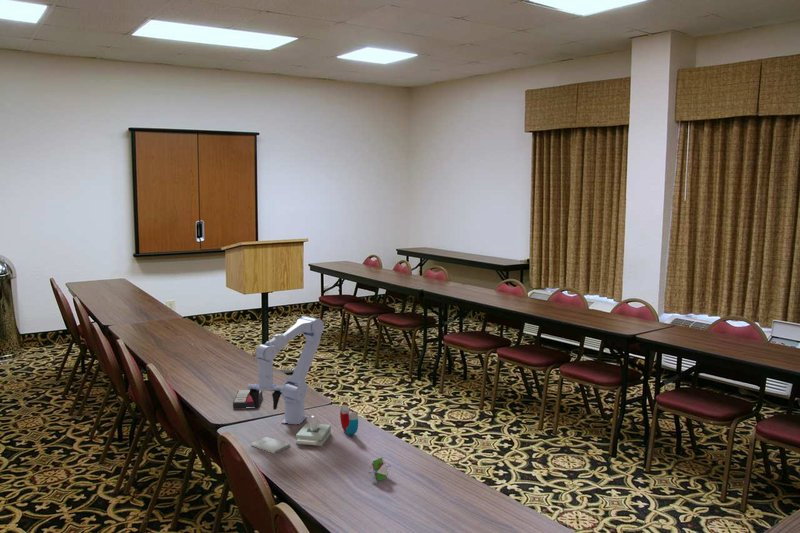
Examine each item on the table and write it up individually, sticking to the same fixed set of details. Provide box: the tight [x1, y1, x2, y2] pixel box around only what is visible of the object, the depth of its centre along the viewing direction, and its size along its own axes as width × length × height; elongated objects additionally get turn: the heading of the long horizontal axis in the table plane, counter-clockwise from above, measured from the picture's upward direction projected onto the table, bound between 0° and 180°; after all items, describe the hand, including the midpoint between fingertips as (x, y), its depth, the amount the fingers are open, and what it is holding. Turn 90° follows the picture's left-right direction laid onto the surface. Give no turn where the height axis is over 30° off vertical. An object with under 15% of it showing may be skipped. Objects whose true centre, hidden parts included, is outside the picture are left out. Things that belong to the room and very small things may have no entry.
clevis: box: [295, 422, 332, 447], centre depth 241 cm, size 14×10×4 cm
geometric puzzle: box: [368, 457, 392, 482], centre depth 209 cm, size 7×7×8 cm
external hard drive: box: [250, 436, 291, 455], centre depth 235 cm, size 2×8×12 cm
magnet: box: [339, 404, 359, 436], centre depth 247 cm, size 12×3×10 cm, turn 29°
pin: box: [309, 414, 318, 433], centre depth 241 cm, size 3×3×9 cm
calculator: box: [232, 389, 263, 408], centre depth 281 cm, size 11×4×15 cm
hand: (266, 408), depth 248 cm, fingers open, 7 cm apart
